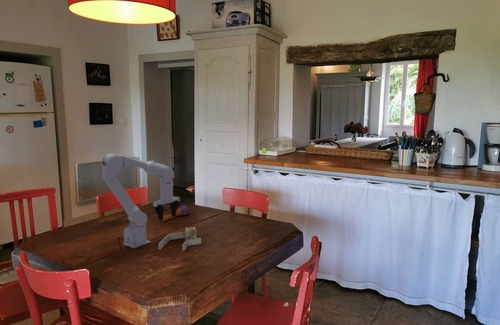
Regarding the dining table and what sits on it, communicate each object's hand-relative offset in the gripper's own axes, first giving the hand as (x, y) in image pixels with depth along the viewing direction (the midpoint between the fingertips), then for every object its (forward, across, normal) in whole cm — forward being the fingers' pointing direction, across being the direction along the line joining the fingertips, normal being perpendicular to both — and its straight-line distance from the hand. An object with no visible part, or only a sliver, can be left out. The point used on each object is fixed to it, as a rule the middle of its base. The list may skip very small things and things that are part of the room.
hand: (167, 218), depth 176 cm
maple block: (+10, +3, -13) cm, 16 cm away
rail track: (+9, -2, -12) cm, 15 cm away
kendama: (+10, +23, +22) cm, 33 cm away
